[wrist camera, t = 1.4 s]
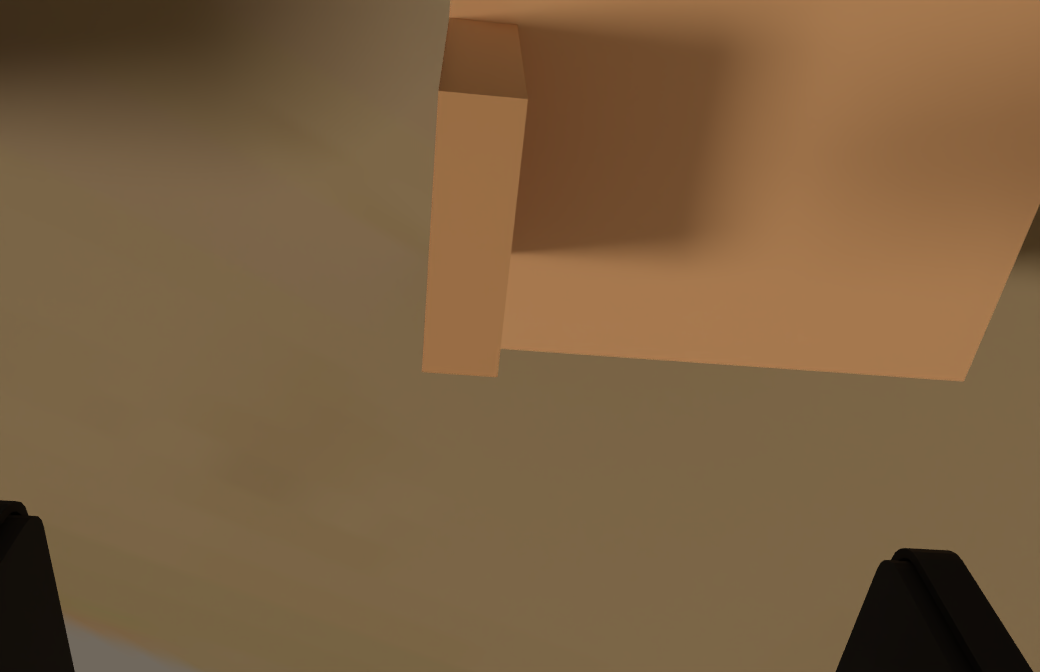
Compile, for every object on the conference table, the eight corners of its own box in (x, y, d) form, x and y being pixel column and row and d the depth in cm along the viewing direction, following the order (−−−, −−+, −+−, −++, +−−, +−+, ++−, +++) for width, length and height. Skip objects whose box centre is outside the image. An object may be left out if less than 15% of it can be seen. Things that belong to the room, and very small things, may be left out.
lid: (460, -133, 22) (449, -95, 15) (1092, -60, 23) (1361, 7, 16) (432, 306, 28) (415, 481, 21) (932, 342, 29) (1075, 519, 22)
